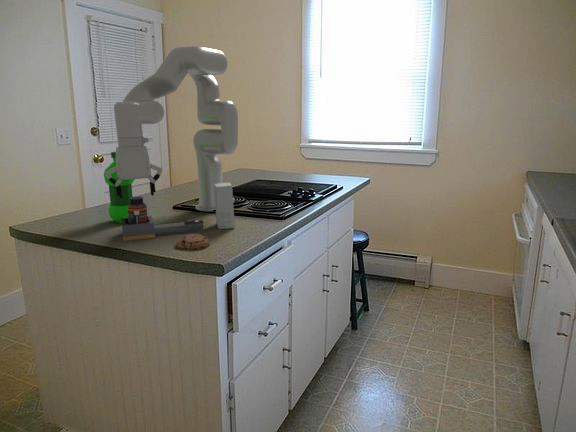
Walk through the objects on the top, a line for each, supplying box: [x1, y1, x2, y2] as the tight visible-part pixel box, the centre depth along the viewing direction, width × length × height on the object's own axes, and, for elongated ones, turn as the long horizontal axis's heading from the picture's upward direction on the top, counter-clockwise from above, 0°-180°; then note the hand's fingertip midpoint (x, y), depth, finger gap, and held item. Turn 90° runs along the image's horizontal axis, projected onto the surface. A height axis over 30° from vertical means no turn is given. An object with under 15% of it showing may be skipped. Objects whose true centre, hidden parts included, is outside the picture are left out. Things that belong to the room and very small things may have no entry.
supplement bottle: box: [127, 196, 148, 224], centre depth 149 cm, size 6×6×11 cm
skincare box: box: [214, 182, 236, 230], centre depth 159 cm, size 8×6×15 cm
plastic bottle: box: [103, 151, 135, 224], centre depth 165 cm, size 10×10×25 cm
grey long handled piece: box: [121, 215, 204, 242], centre depth 152 cm, size 26×10×5 cm, turn 111°
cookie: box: [175, 233, 210, 251], centre depth 140 cm, size 10×11×3 cm
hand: (136, 196), depth 148 cm, fingers open, 9 cm apart
